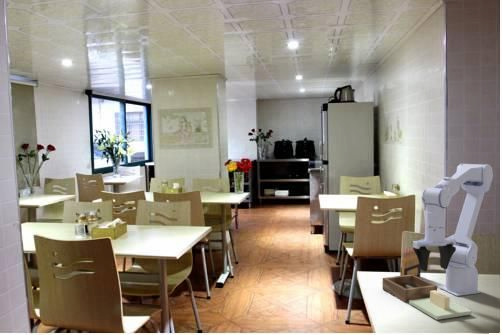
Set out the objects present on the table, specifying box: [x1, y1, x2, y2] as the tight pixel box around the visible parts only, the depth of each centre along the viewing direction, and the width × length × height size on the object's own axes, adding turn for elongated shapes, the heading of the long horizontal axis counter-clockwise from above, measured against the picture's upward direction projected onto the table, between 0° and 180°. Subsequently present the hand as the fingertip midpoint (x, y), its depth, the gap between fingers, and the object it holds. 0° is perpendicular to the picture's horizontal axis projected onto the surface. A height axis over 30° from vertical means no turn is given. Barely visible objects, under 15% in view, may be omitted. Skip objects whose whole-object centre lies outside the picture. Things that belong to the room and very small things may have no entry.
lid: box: [408, 290, 473, 320], centre depth 122 cm, size 12×12×5 cm
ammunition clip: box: [399, 246, 421, 278], centre depth 150 cm, size 11×2×12 cm, turn 128°
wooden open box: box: [382, 275, 438, 303], centre depth 136 cm, size 12×12×4 cm
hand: (433, 269), depth 128 cm, fingers open, 7 cm apart
